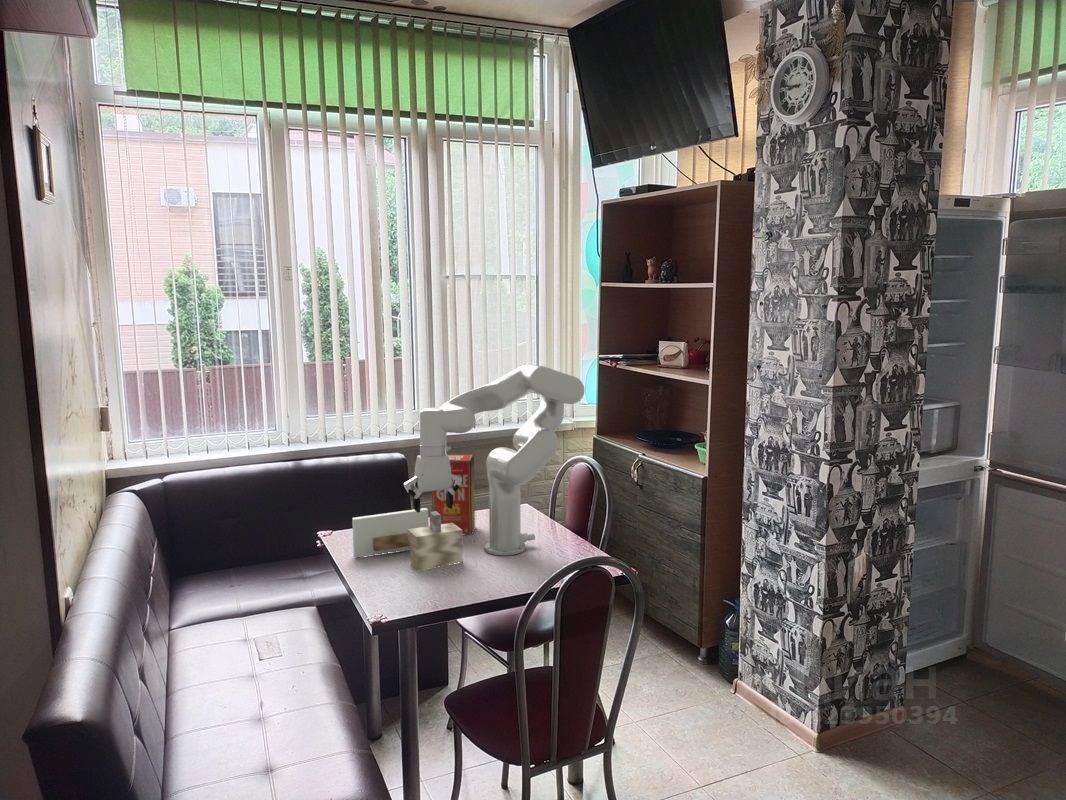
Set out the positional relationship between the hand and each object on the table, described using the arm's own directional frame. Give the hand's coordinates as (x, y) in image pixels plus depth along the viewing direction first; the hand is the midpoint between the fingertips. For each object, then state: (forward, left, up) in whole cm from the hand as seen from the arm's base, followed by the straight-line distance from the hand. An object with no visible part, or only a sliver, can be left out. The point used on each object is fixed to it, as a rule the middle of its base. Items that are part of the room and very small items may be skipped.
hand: (433, 509), depth 218 cm
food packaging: (-17, -27, -16) cm, 35 cm away
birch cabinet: (-1, -1, -16) cm, 16 cm away
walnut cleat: (+8, -13, -14) cm, 21 cm away
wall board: (+8, -16, -16) cm, 24 cm away
